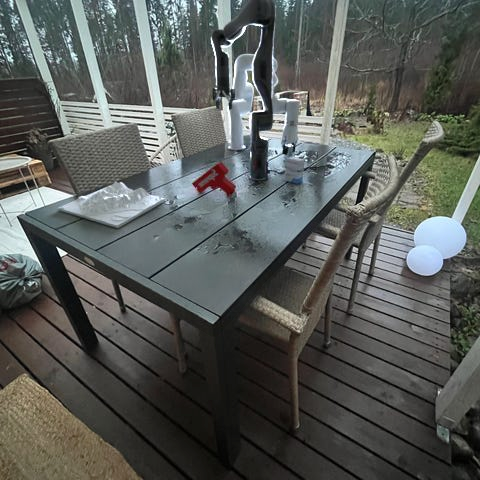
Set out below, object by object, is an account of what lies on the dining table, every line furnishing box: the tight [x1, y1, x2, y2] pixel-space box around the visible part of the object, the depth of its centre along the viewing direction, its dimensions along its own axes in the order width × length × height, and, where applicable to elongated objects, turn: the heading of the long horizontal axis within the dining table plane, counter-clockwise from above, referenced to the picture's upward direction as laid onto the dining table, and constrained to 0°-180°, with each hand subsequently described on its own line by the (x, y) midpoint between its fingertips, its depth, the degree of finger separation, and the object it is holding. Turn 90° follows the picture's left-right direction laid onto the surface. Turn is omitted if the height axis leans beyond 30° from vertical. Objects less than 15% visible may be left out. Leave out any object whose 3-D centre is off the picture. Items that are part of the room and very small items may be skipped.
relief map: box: [57, 180, 166, 229], centre depth 118 cm, size 27×35×5 cm
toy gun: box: [191, 161, 237, 197], centre depth 128 cm, size 18×4×15 cm
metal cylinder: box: [284, 144, 294, 163], centre depth 171 cm, size 5×5×10 cm
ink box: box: [284, 156, 306, 185], centre depth 140 cm, size 8×5×12 cm, turn 47°
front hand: (224, 109), depth 155 cm, fingers open, 8 cm apart
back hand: (288, 153), depth 171 cm, fingers open, 7 cm apart
